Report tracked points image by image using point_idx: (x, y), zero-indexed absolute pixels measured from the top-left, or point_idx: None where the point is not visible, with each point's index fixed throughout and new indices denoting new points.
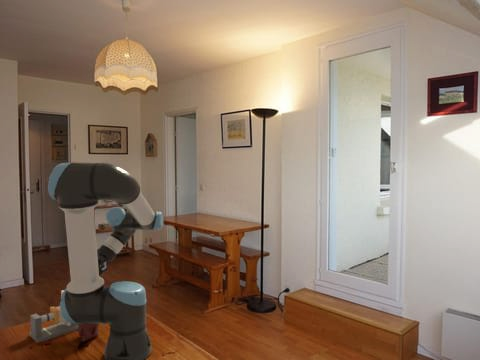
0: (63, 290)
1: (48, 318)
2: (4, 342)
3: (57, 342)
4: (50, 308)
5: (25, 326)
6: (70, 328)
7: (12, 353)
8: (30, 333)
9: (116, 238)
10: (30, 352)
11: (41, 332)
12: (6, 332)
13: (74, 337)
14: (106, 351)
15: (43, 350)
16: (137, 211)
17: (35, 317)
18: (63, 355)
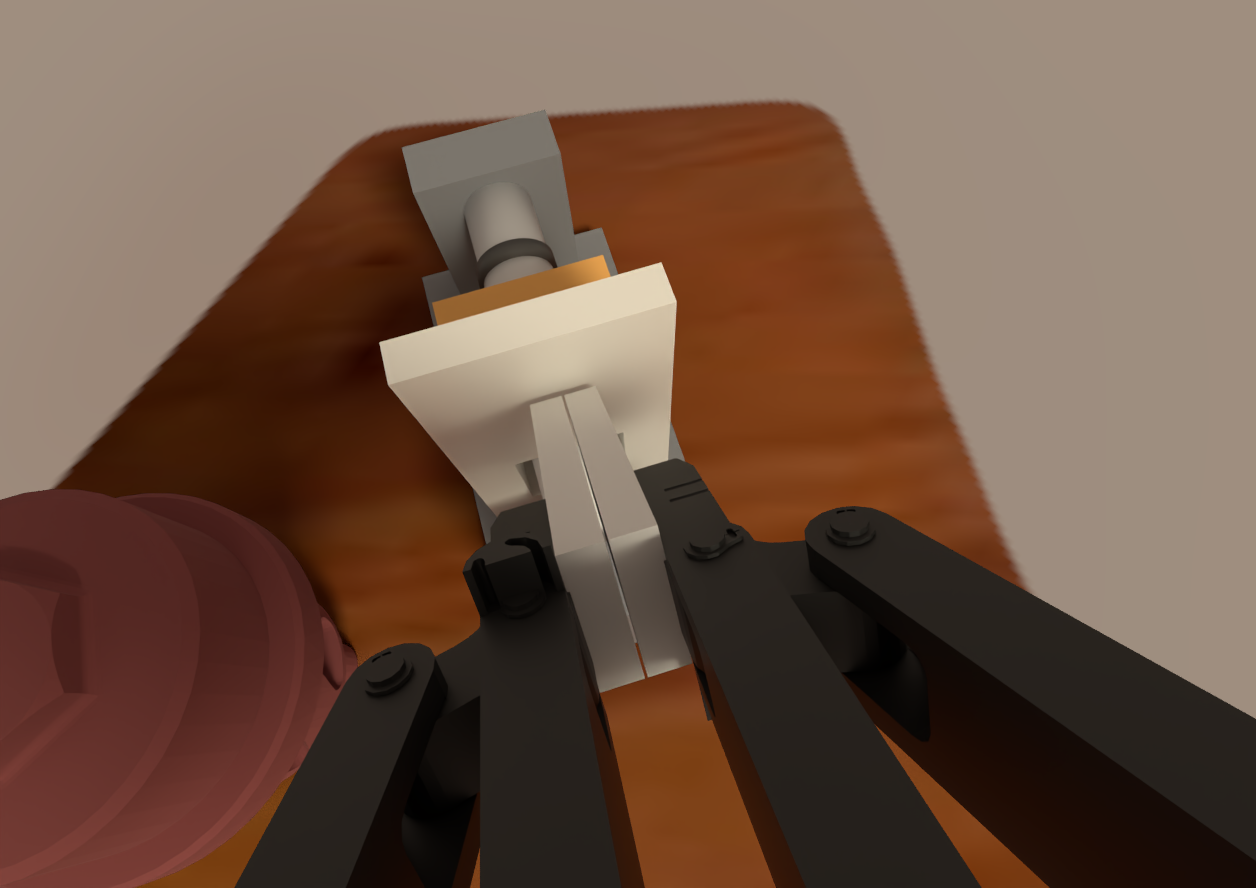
0: (659, 296)
1: (478, 282)
2: (575, 113)
3: (342, 426)
4: (599, 265)
5: (815, 215)
6: (490, 532)
7: (362, 163)
8: (576, 234)
9: None
10: (299, 256)
11: (458, 287)
12: (755, 111)
13: (349, 562)
14: None
15: (270, 331)
16: None
17: (444, 147)
18: (81, 455)
